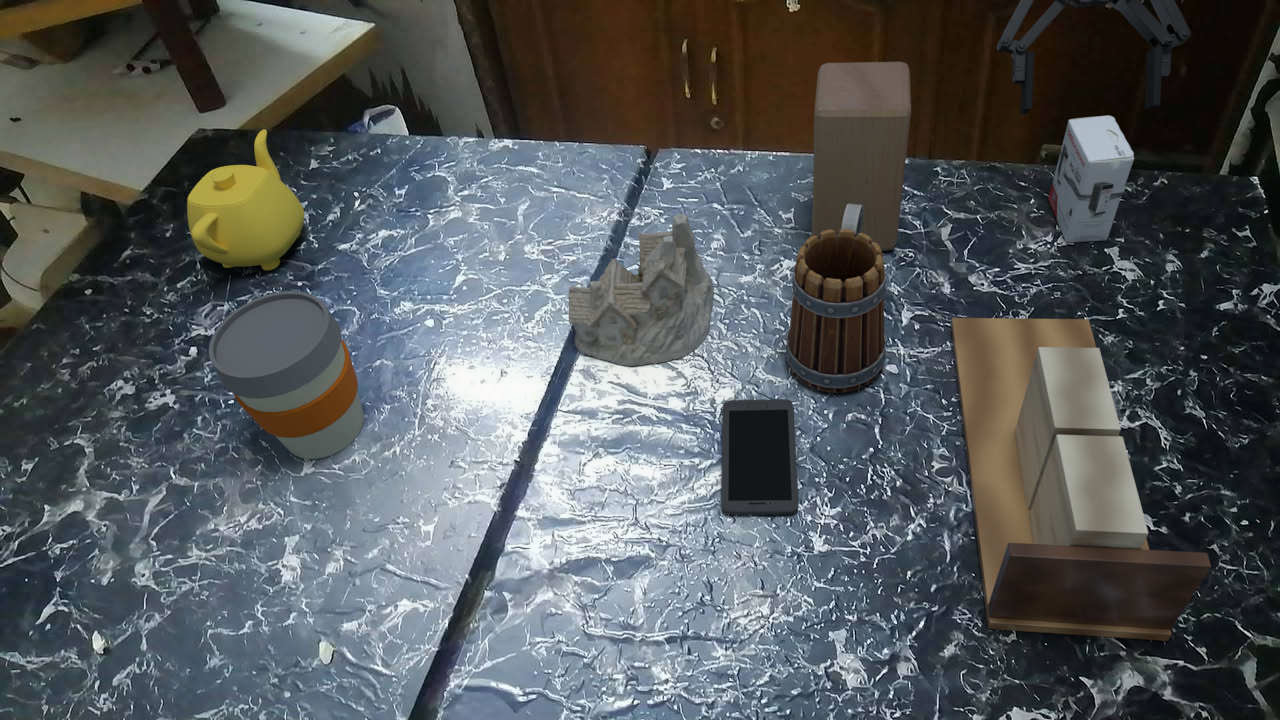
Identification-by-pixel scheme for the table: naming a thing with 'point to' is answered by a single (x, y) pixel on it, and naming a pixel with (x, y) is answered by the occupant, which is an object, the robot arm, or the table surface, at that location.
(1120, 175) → the ink box
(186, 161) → the table surface
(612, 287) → the ceramic cottage
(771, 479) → the cell phone
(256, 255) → the teapot
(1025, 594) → the shelf
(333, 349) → the reusable coffee cup
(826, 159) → the wooden block
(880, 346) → the mug
